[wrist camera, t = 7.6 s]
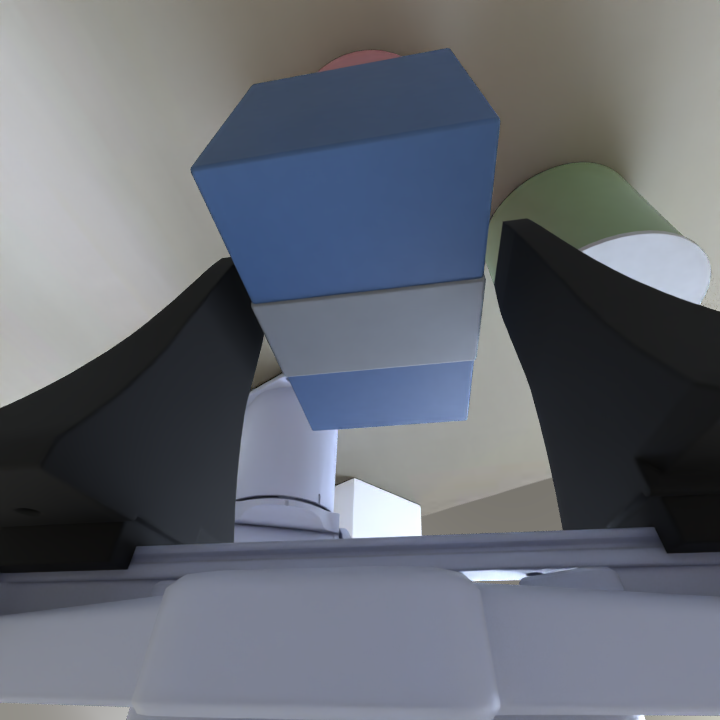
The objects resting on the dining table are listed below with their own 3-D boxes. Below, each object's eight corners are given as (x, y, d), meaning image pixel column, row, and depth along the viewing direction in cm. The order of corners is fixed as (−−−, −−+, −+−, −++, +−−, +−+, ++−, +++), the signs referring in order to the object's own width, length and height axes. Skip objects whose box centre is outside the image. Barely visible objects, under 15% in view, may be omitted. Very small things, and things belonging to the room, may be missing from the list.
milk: (354, 527, 54) (349, 804, 37) (289, 506, 48) (247, 824, 31) (420, 505, 48) (450, 829, 31) (354, 477, 42) (345, 860, 25)
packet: (445, 309, 15) (469, 422, 12) (322, 322, 16) (310, 433, 12) (452, 46, 9) (506, 118, 6) (249, 83, 10) (183, 170, 6)
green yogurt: (512, 308, 23) (543, 388, 19) (457, 222, 19) (482, 302, 15) (645, 243, 20) (718, 325, 16) (613, 122, 16) (701, 189, 12)
